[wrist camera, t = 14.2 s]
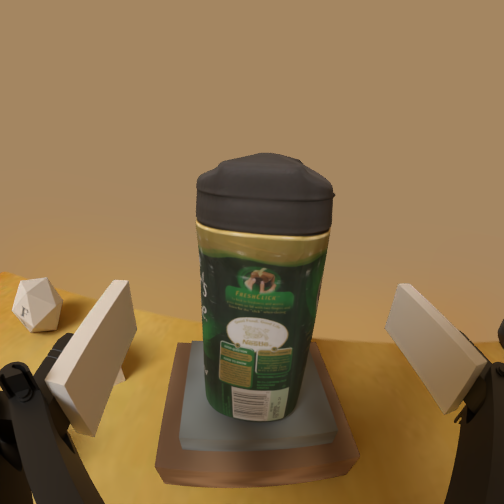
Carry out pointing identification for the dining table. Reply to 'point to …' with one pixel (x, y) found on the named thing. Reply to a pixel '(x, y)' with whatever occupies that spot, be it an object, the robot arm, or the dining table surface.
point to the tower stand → (251, 433)
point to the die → (37, 305)
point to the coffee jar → (260, 280)
